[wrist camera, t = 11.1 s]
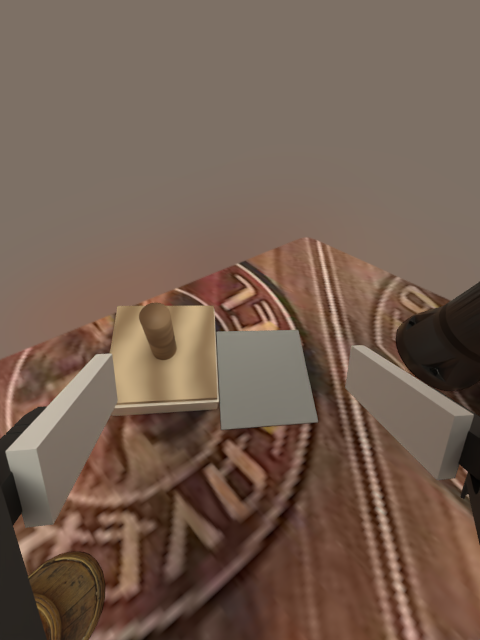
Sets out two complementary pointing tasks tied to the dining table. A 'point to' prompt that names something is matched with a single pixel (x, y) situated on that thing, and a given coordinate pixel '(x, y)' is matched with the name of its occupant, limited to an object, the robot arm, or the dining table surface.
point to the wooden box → (167, 404)
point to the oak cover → (164, 354)
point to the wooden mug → (69, 595)
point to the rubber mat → (263, 379)
